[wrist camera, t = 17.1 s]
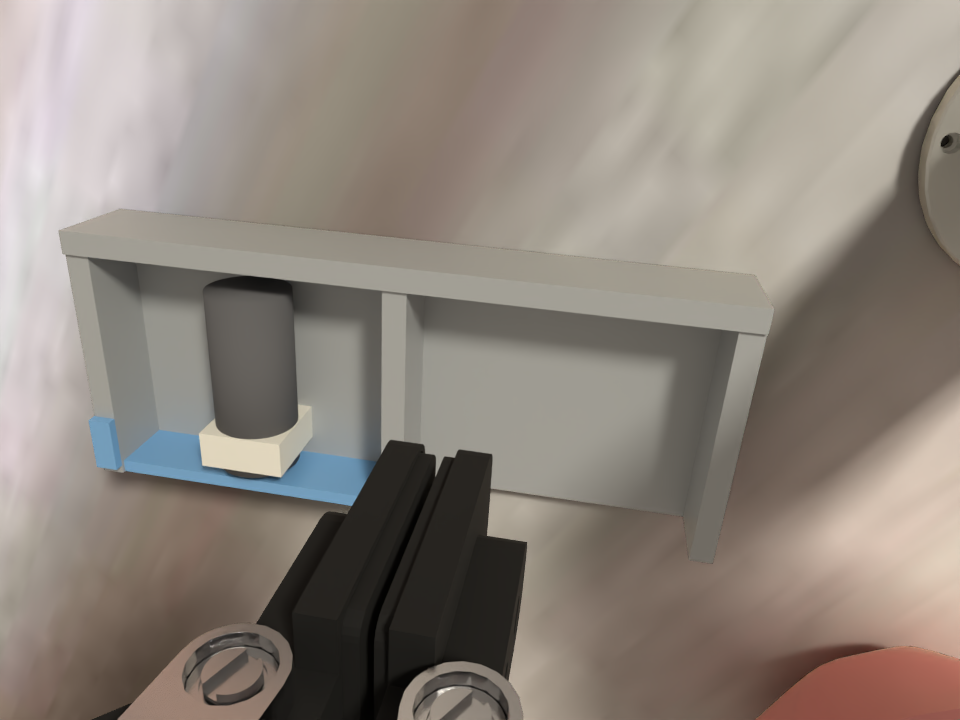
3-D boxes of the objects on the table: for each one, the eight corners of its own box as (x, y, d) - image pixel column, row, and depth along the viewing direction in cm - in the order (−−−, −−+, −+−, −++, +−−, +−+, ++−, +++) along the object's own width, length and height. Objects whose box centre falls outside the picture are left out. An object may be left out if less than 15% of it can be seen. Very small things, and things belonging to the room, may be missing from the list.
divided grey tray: (755, 275, 36) (775, 311, 32) (702, 509, 42) (713, 570, 37) (120, 208, 41) (54, 232, 36) (151, 429, 47) (98, 474, 42)
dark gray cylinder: (228, 271, 40) (184, 298, 36) (306, 280, 40) (271, 308, 35) (241, 431, 44) (203, 471, 40) (312, 442, 44) (281, 483, 40)
